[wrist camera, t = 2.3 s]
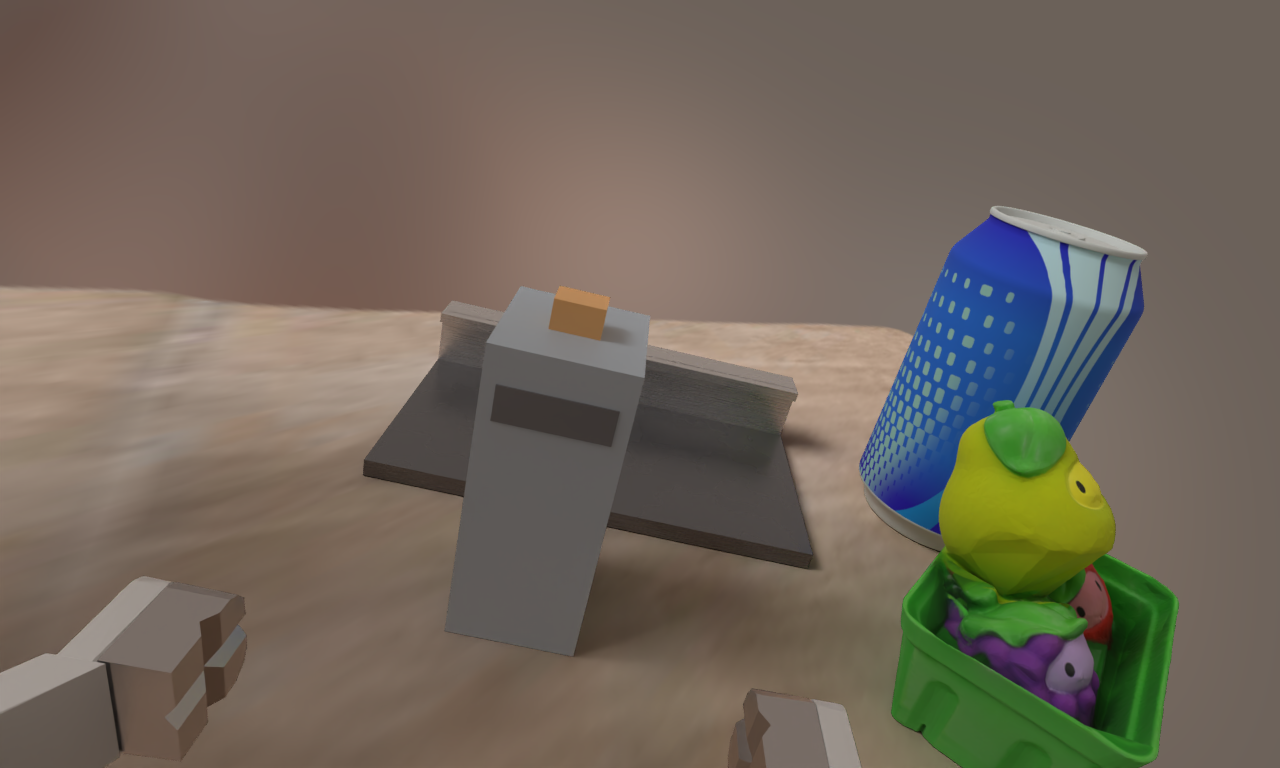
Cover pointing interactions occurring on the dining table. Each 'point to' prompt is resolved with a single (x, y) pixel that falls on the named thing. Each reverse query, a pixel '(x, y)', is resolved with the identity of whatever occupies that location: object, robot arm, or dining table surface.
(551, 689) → the dining table surface
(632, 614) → the dining table surface
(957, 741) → the fruit basket
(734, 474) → the rail plate
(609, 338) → the module
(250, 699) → the dining table surface
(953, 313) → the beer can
